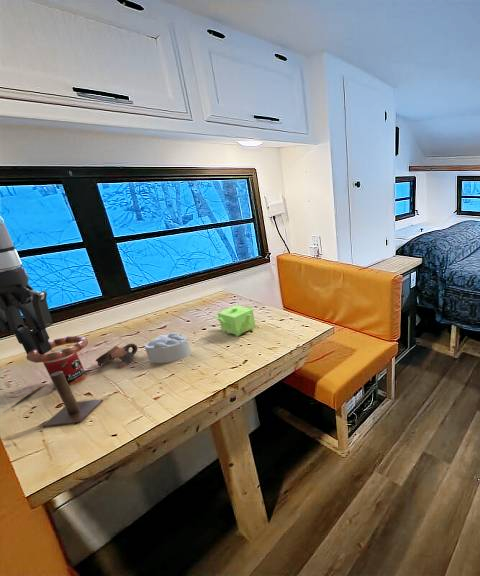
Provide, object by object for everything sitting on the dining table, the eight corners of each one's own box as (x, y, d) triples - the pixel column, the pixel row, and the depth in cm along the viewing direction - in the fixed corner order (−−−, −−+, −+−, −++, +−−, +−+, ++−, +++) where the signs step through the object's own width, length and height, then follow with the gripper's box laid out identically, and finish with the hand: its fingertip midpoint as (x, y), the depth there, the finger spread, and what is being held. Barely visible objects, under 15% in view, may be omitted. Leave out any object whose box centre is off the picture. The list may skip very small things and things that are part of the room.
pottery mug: (115, 376, 106) (95, 359, 103) (108, 379, 111) (89, 363, 108) (148, 351, 115) (130, 335, 112) (140, 355, 120) (123, 340, 117)
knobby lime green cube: (256, 335, 130) (251, 311, 126) (219, 342, 125) (213, 317, 121) (257, 321, 143) (253, 299, 139) (224, 326, 139) (218, 304, 135)
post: (44, 430, 83) (21, 386, 78) (71, 406, 91) (51, 365, 86) (81, 425, 84) (61, 382, 79) (104, 403, 92) (87, 362, 87)
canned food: (74, 388, 99) (60, 360, 95) (48, 390, 99) (33, 361, 95) (93, 374, 106) (82, 347, 102) (69, 376, 106) (56, 348, 102)
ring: (15, 366, 77) (11, 359, 76) (54, 342, 88) (51, 336, 87) (67, 361, 79) (64, 354, 78) (99, 339, 89) (96, 333, 89)
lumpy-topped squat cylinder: (165, 350, 120) (159, 330, 117) (197, 349, 120) (192, 330, 117) (145, 365, 111) (138, 344, 108) (180, 365, 110) (174, 344, 107)
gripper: (49, 263, 79) (82, 342, 87) (-20, 267, 77) (20, 348, 85) (21, 271, 72) (60, 357, 80) (-56, 276, 70) (-7, 363, 78)
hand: (40, 352), depth 82 cm, fingers closed on ring, 2 cm apart
